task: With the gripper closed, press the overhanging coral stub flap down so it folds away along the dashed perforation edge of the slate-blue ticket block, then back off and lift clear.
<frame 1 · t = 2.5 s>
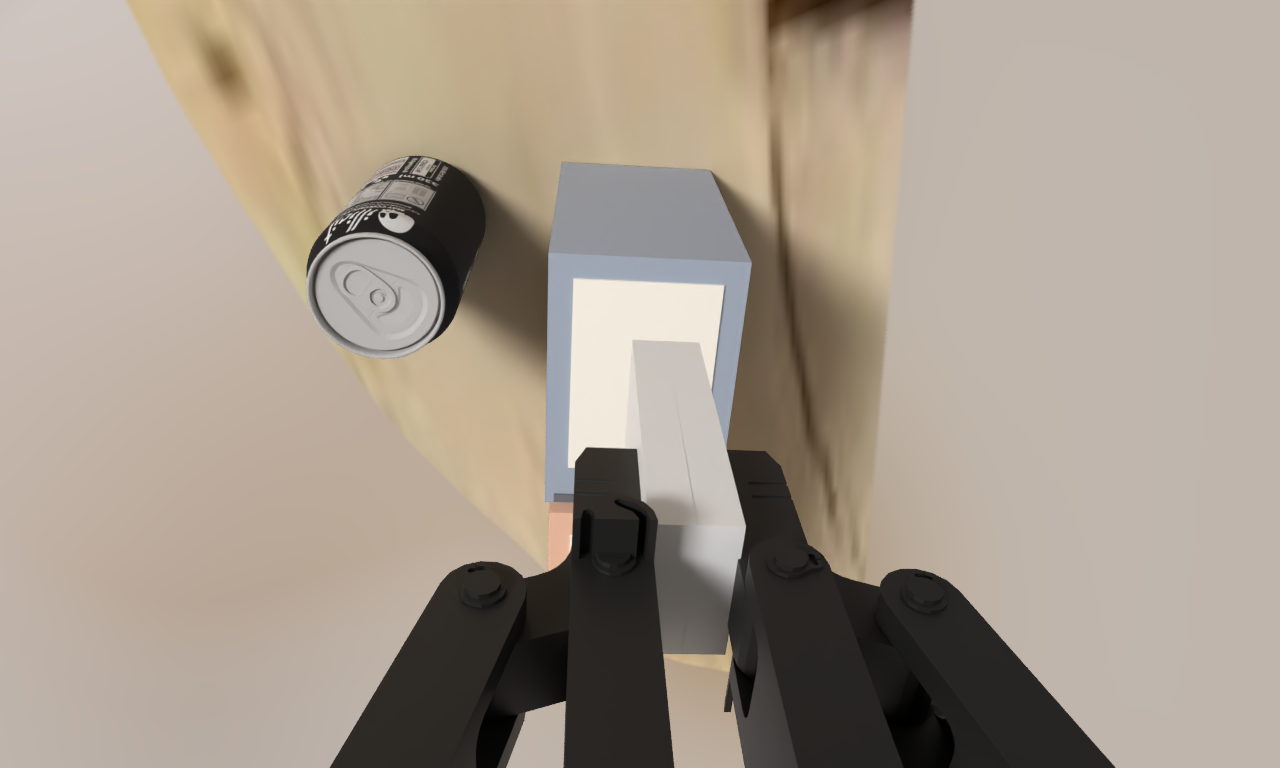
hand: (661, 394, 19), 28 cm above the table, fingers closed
beverage can: (427, 211, 46), on the table
ticket block: (629, 270, 48), on the table
stub: (625, 573, 41), point 14 cm above the table, hinge at 0.0°
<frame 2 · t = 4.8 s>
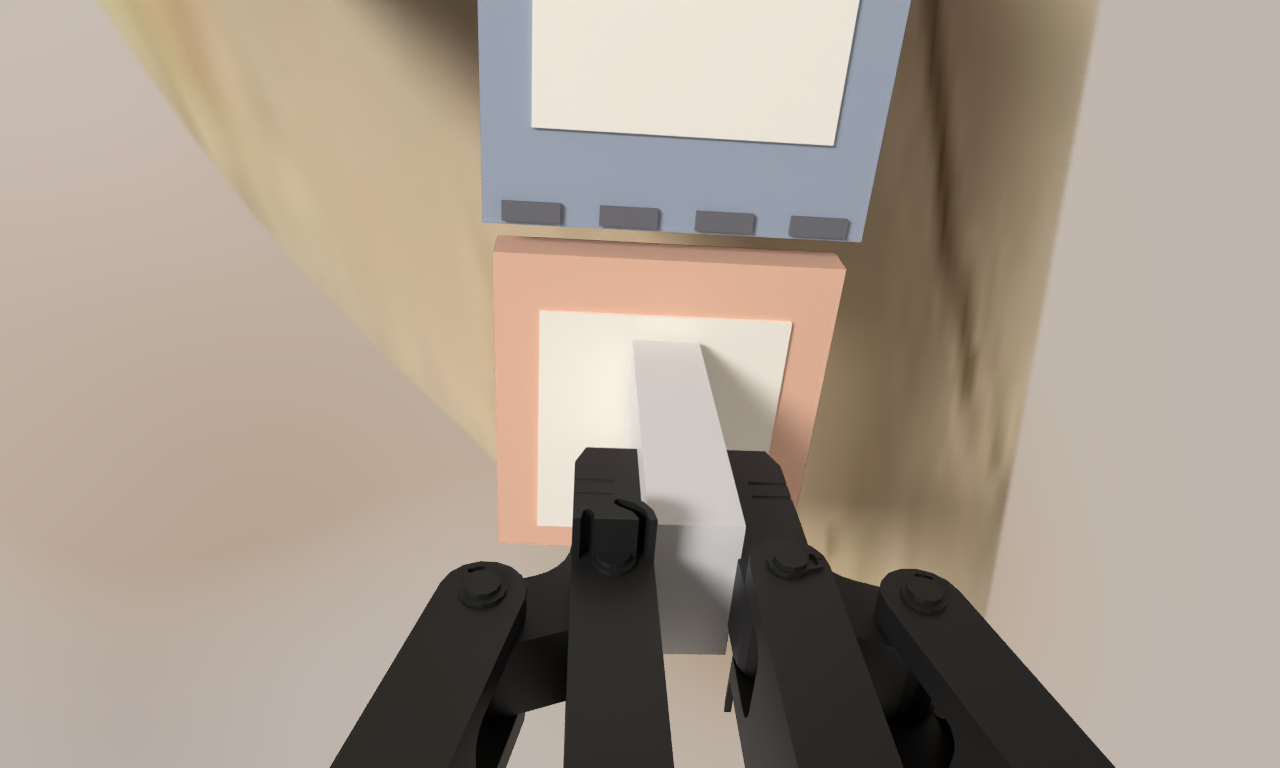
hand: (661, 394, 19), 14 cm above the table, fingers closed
stub: (656, 408, 20), point 13 cm above the table, hinge at 1.5°, touching gripper
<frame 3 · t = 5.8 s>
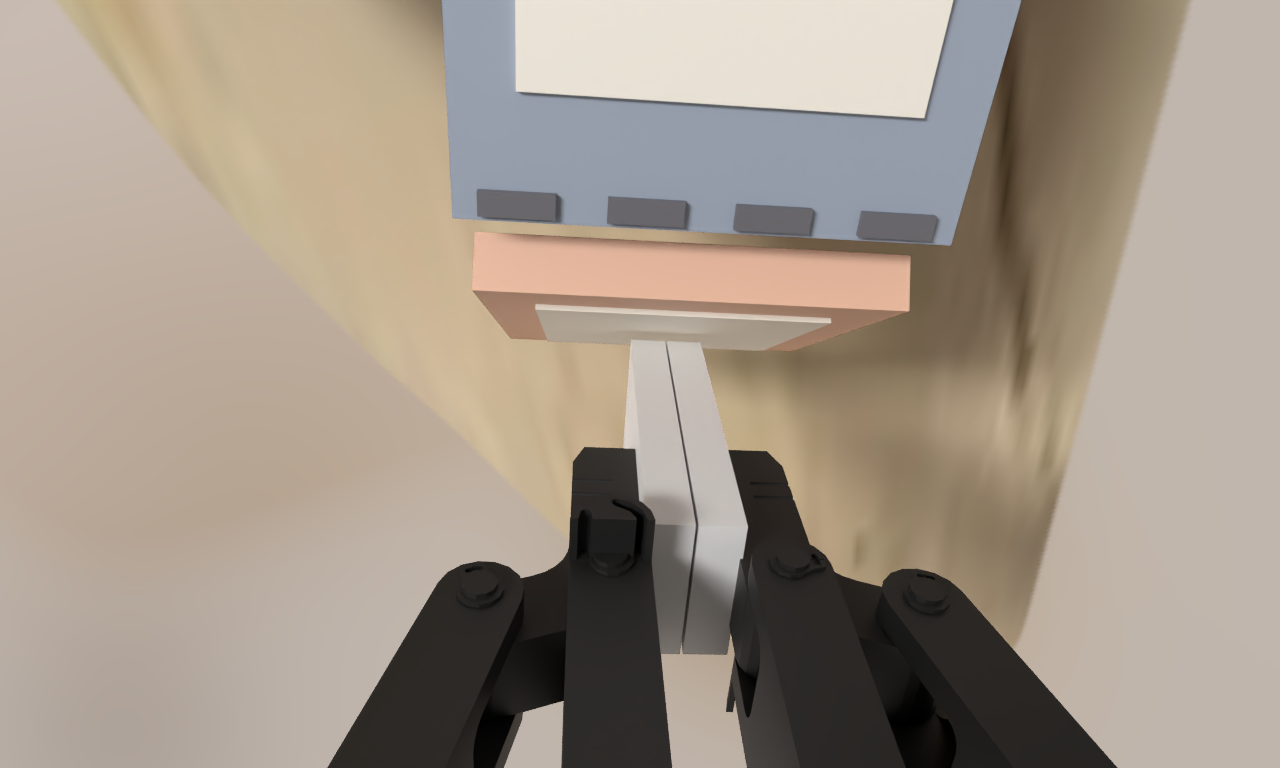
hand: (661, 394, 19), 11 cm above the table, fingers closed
stub: (670, 307, 18), point 10 cm above the table, hinge at 55.5°, touching gripper
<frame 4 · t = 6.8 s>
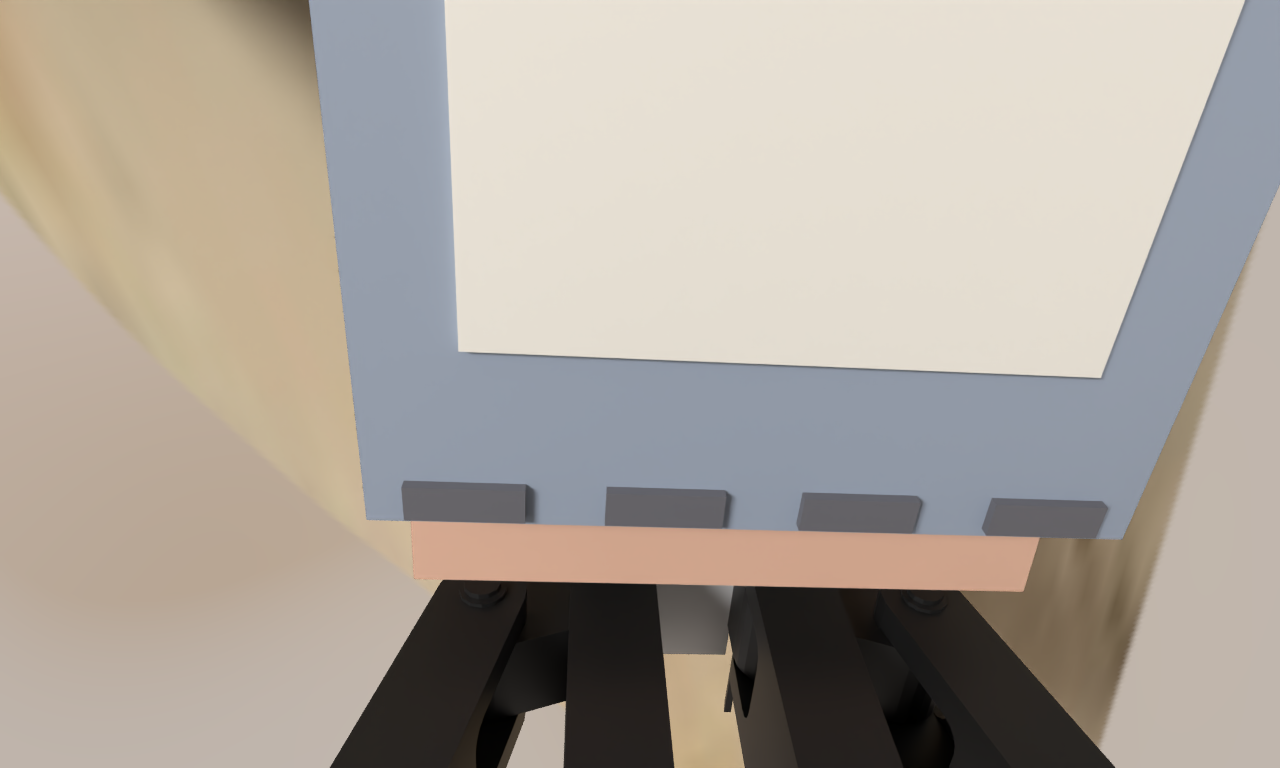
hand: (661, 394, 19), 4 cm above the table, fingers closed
stub: (694, 412, 14), point 9 cm above the table, hinge at 84.8°, touching gripper
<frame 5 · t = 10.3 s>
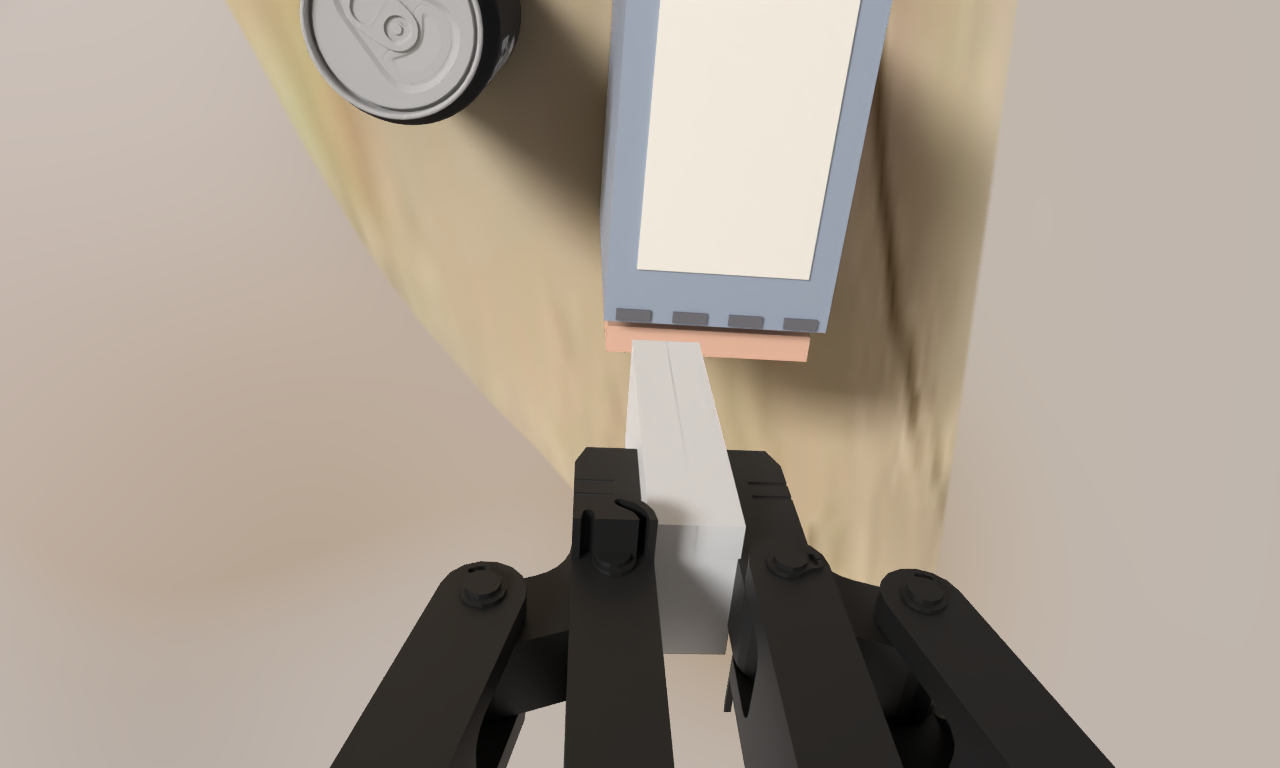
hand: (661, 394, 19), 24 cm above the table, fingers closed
beverage can: (449, 8, 37), on the table
ticket block: (691, 95, 39), on the table
stub: (695, 311, 35), point 9 cm above the table, hinge at 86.5°
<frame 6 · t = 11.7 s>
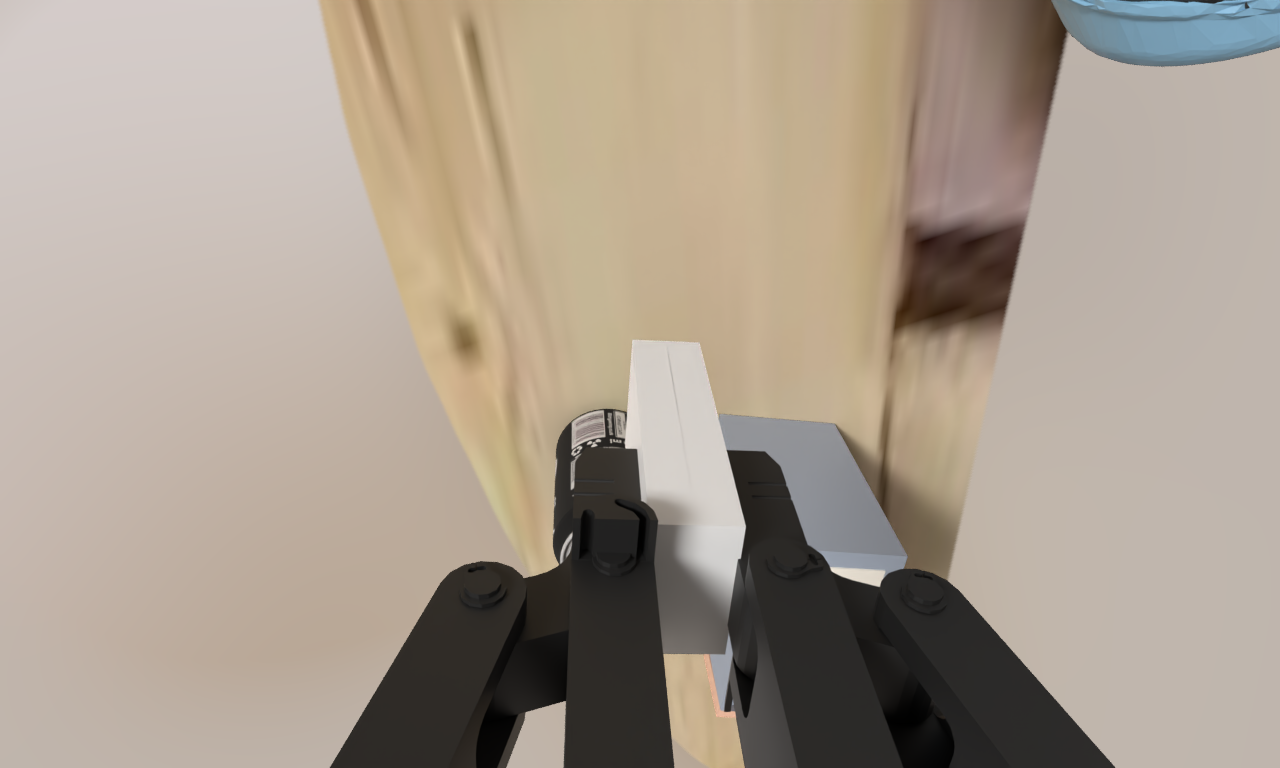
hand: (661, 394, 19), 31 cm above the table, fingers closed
beverage can: (605, 444, 56), on the table
ticket block: (759, 492, 59), on the table
stub: (764, 666, 54), point 9 cm above the table, hinge at 86.5°
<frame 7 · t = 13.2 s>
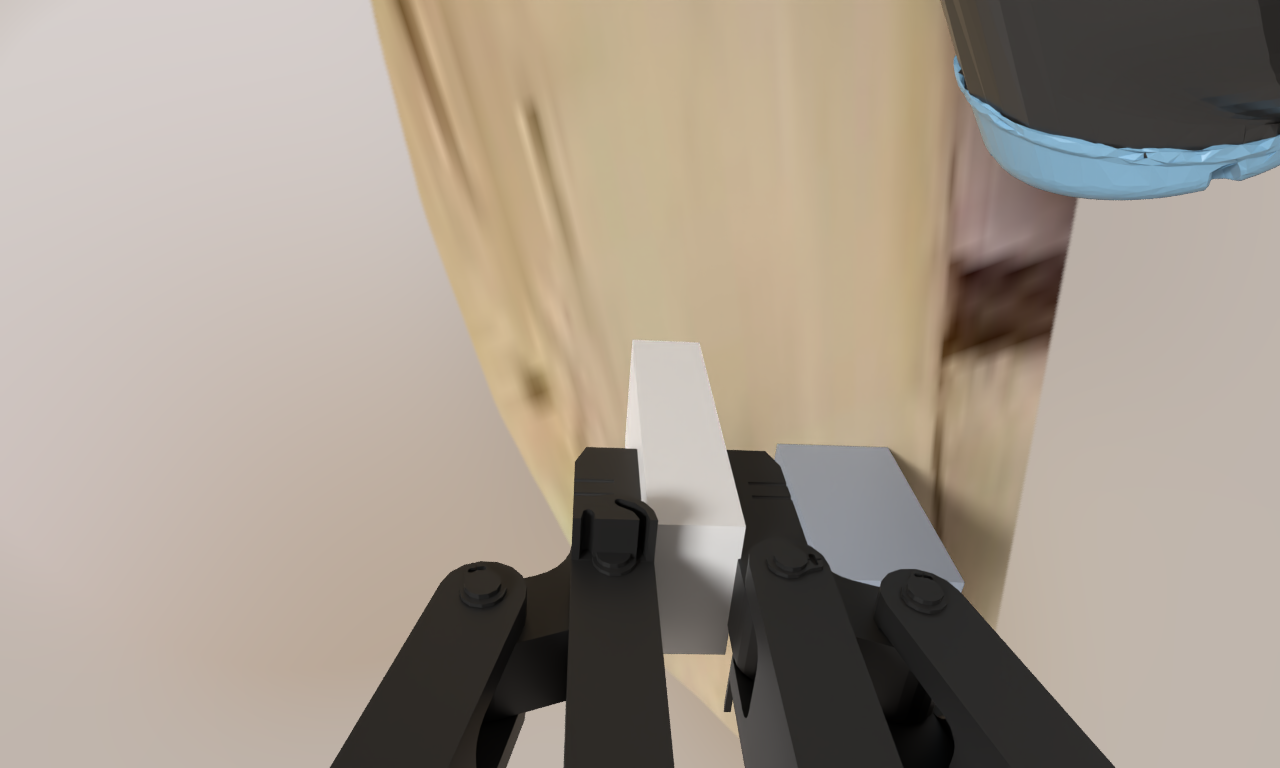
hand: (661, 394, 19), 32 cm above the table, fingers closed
ticket block: (818, 513, 62), on the table
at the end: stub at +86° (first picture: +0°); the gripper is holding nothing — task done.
